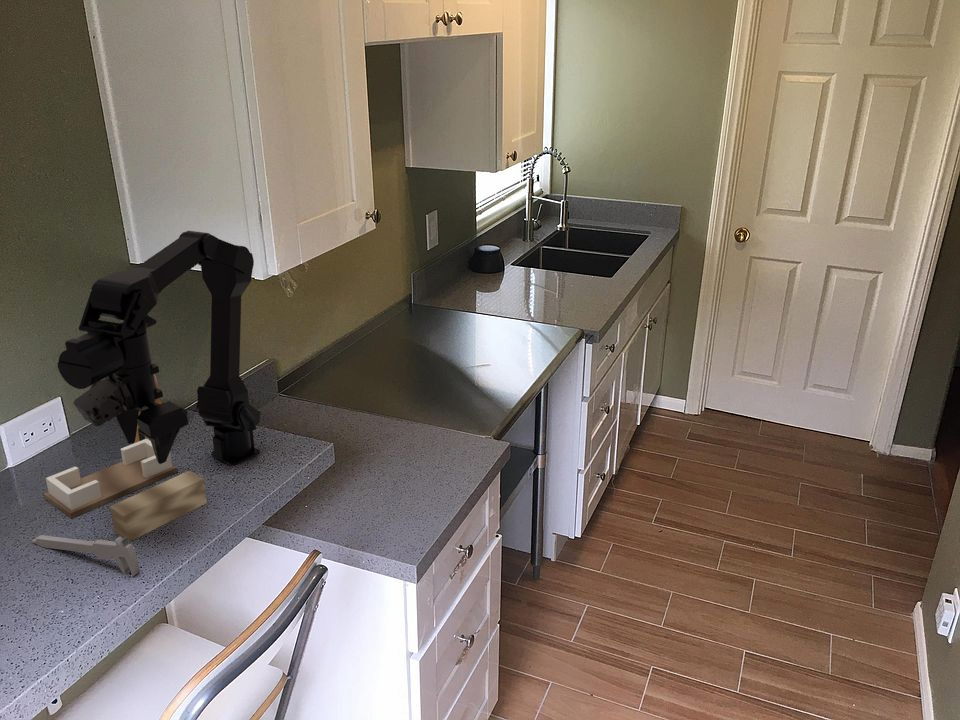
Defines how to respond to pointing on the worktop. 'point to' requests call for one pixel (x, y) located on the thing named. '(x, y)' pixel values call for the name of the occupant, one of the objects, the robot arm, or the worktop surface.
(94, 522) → the worktop surface
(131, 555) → the caliper
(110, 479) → the walnut board
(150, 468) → the end caps
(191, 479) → the maple slat
